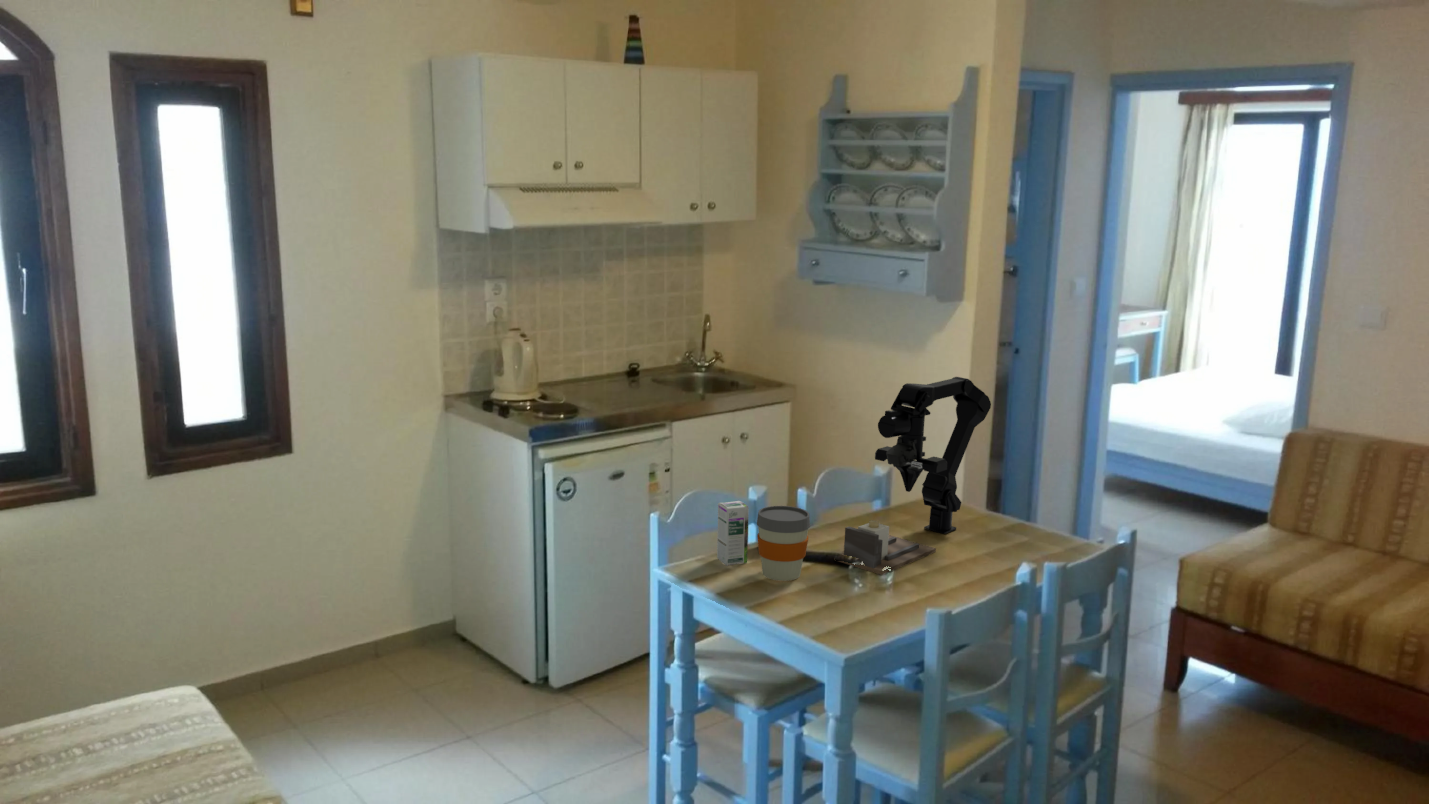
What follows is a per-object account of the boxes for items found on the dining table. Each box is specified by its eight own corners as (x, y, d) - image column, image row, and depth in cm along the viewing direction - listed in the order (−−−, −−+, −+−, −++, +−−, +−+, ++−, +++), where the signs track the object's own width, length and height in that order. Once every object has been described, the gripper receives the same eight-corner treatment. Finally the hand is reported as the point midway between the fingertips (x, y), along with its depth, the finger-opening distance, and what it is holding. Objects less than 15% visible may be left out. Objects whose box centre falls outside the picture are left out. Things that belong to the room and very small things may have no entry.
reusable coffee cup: (747, 578, 254) (750, 517, 251) (764, 561, 266) (766, 502, 263) (799, 586, 250) (802, 524, 247) (813, 569, 262) (816, 509, 259)
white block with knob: (870, 552, 272) (872, 516, 270) (887, 557, 268) (889, 521, 266) (856, 557, 267) (858, 522, 265) (873, 563, 264) (875, 526, 262)
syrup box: (726, 566, 262) (727, 508, 259) (716, 558, 267) (717, 501, 265) (747, 563, 264) (749, 506, 261) (737, 555, 270) (739, 499, 267)
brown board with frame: (889, 538, 286) (891, 505, 284) (935, 551, 276) (938, 518, 275) (834, 560, 268) (836, 525, 267) (881, 575, 259) (884, 538, 257)
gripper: (864, 431, 281) (860, 489, 284) (926, 444, 268) (922, 505, 271) (888, 425, 289) (885, 481, 292) (950, 437, 276) (946, 496, 279)
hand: (908, 491), depth 283 cm, fingers closed
